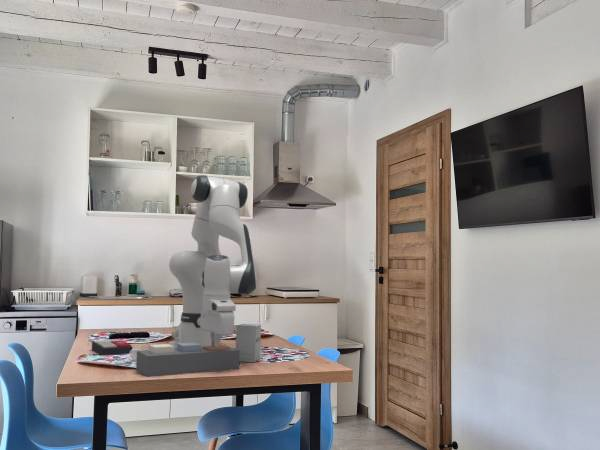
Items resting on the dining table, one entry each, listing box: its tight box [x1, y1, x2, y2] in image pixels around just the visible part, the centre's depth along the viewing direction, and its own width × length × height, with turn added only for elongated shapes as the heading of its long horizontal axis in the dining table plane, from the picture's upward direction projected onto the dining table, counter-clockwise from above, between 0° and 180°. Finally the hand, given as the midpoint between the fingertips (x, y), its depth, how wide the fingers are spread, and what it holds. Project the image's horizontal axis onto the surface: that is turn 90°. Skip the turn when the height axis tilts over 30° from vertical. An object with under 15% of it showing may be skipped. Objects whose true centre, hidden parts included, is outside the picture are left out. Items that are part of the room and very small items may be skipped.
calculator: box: [91, 338, 133, 356], centre depth 215 cm, size 11×4×15 cm
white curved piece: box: [124, 348, 142, 363], centre depth 196 cm, size 9×8×4 cm
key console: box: [135, 345, 240, 377], centre depth 181 cm, size 12×30×6 cm, turn 121°
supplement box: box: [235, 323, 262, 363], centre depth 201 cm, size 7×7×13 cm
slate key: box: [177, 343, 201, 353], centre depth 181 cm, size 6×6×4 cm
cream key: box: [148, 343, 174, 354], centre depth 177 cm, size 6×6×4 cm
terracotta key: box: [203, 344, 227, 351], centre depth 186 cm, size 6×6×4 cm
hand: (215, 346), depth 186 cm, fingers closed, pressing on terracotta key
